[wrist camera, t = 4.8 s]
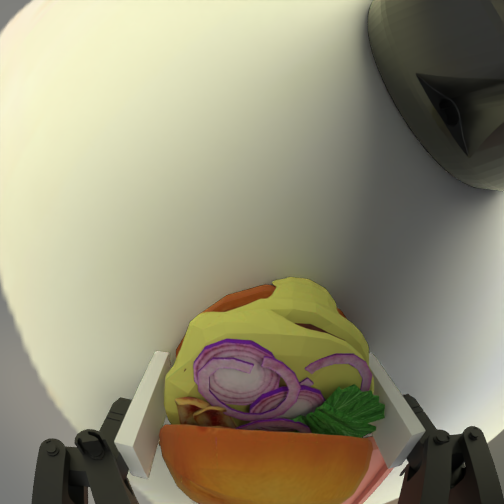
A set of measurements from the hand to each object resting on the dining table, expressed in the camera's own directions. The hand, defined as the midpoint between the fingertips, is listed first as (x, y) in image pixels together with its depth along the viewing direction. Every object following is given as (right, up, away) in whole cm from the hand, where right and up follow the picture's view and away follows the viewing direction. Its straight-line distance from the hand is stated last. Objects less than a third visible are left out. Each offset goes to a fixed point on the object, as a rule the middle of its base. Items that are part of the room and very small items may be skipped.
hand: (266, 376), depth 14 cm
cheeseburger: (0, 0, 0) cm, 1 cm away
